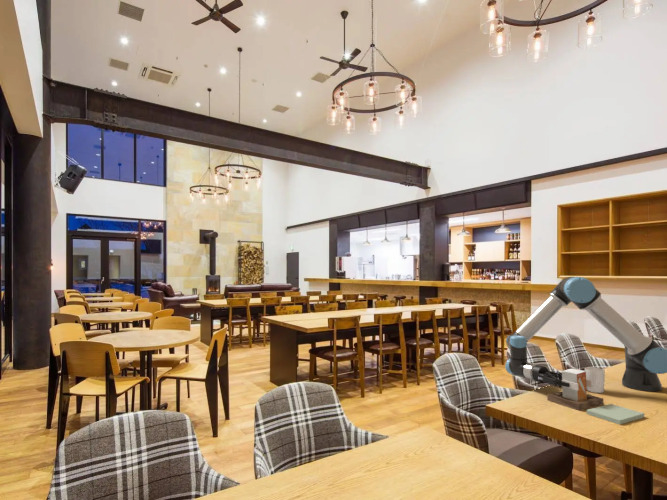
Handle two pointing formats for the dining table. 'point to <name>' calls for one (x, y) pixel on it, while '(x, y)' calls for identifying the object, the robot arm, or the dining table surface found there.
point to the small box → (575, 377)
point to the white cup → (595, 379)
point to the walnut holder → (589, 403)
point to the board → (615, 413)
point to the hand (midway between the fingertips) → (585, 385)
